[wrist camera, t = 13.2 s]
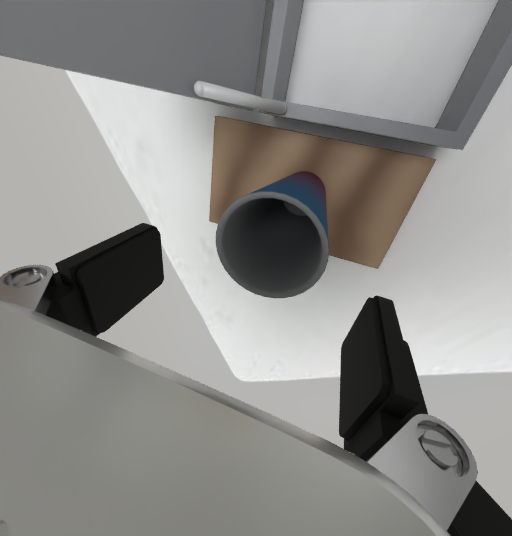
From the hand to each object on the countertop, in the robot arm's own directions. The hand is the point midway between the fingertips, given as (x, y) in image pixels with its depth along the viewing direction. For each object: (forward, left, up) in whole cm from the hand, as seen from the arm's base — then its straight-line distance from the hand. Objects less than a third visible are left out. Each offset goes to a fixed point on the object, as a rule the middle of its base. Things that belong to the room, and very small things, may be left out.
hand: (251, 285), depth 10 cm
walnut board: (0, 0, -20) cm, 20 cm away
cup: (0, 0, -19) cm, 19 cm away
